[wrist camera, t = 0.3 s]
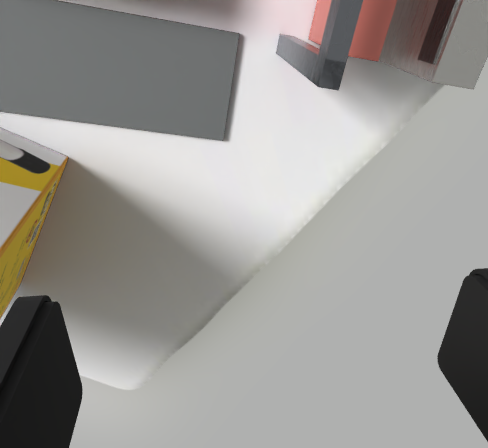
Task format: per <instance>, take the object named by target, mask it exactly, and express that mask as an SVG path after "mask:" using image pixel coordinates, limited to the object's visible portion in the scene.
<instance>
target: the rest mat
mask: <svg viewBox="0 0 488 448" xmlns="http://www.w3.org/2000/svg"><path fill="white" fill-rule="evenodd" d="M238 40H239V33H235V32H229V31H224V30H218V29H212V28H207V27H201V26H196V25H190V24H185V23H179V22H174V21H168V20H163V19H157V18H152V17H146V16H140V15H135V14H129V13H124V12H118V11H113V10H107V9H102V8H96V7H91V6H85V5H79V4H74V3H68V2H63V1H57V0H0V111H1V112H8V113H16V114H23V115H31V116H39V117H46V118H54V119H61V120H69V121H77V122H84V123H92V124H99V125H107V126H114V127H122V128H130V129H137V130H145V131H152V132H160V133H168V134H175V135H183V136H190V137H198V138H206V139H213V140H221V141H223V139H224V132H225V125H226V119H227V112H228V106H229V99H230V93H231V86H232V79H233V73H234V66H235V60H236V53H237V46H238Z"/></svg>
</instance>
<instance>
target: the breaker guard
mask: <svg viewBox="0 0 488 448" xmlns="http://www.w3.org/2000/svg"><path fill="white" fill-rule="evenodd" d="M362 3H363V0H331V5H330V9H329V13H328V17H327V21H326V25H325V29H324V33H323V38H322V42H321V46H320V49H318V48H316V47H314V46H312V45H310V44H308V43H306V42H304V41H302V40H300V39H298V38H296V37H294V36H288V35H283V34H280V36H279V41H278V46H277V51H276V53H277V54H278V55H279V56H280V57H282V58H283V59H284V60H285V61H287V62H288V63H289V64H290V65H292V66H293V67H294V68H295V69H297V70H298V71H299V72H300V73H302V74H303V75H304V76H305V77H307V78H308V79H309V80H310V81H312V82H313V83H314V84H315V85H317V86H318V87H321V88H327V89H333V90H339V87H340V83H341V79H342V76H343V72H344V68H345V65H346V61H347V58H348V54H349V50H350V47H351V43H352V39H353V36H354V32H355V29H356V25H357V21H358V18H359V14H360V10H361V7H362ZM487 57H488V0H397V3H396V6H395V9H394V12H393V16H392V19H391V22H390V25H389V28H388V32H387V35H386V38H385V41H384V44H383V48H382V51H381V54H380V57H379V61H381V62H383V63H385V64H388V65H390V66H393V67H395V68H398V69H400V70H403V71H405V72H408V73H410V74H413V75H415V76H418V77H420V78H423V79H425V80H428V81H430V82H434V83H439V84H445V85H451V86H457V87H462V88H468V89H474V87H475V84H476V82H477V80H478V78H479V75H480V73H481V70H482V68H483V66H484V63H485V61H486V59H487Z"/></svg>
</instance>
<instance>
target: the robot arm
mask: <svg viewBox="0 0 488 448" xmlns="http://www.w3.org/2000/svg"><path fill="white" fill-rule="evenodd" d="M438 364H439V367H440V369H441V371H442V372H443V374H444V376H445V377H446V379H447V380H448V382H449V383H450V385H451V386H452V388H453V390H454V391H455V393H456V394H457V395H458V397H459V399H460V400H461V402H462V403H463V405H464V406H465V408H466V409H467V411H468V412H469V414H470V415H471V417H472V419H473V420H474V422H475V423H476V424H477V426H478V428H479V429H480V431H481V432H482V434H483V435H484V437H485V438H486V440H487V441H488V268H485V269H475V270H473V271H472V272H471V273H470V275H469V276H467V277H465V279H464V281H463V283H462V286H461V289H460V292H459V295H458V298H457V301H456V304H455V307H454V309H453V312H452V315H451V318H450V321H449V324H448V327H447V330H446V333H445V336H444V339H443V341H442V344H441V347H440V350H439V353H438ZM81 400H82V383H81V380H80V376H79V372H78V369H77V365H76V362H75V358H74V354H73V351H72V347H71V343H70V340H69V336H68V333H67V329H66V325H65V322H64V318H63V314H62V311H61V307H60V304H59V303H58V302H51V299H50V298H49V296H46V295H45V296H28V297H19V298H17V299H16V300H15V302H14V303H13V305H12V307H11V309H10V311H9V312H8V314H7V316H6V318H5V319H4V321H3V323H2V325H1V326H0V448H69V445H70V442H71V438H72V434H73V430H74V427H75V423H76V419H77V416H78V412H79V408H80V404H81Z"/></svg>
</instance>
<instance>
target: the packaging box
mask: <svg viewBox="0 0 488 448" xmlns="http://www.w3.org/2000/svg"><path fill="white" fill-rule="evenodd" d="M67 160H68V156H65V155H63V154H61V153H58V152H56V151H54V150H51V149H49V148H47V147H44V146H42V145H40V144H37V143H35V142H33V141H30V140H28V139H26V138H23V137H21V136H19V135H16V134H14V133H12V132H9V131H7V130H5V129H2V128H0V319H1V317H2V315H3V314H4V312H5V310H6V308H7V307H8V305H9V303H10V301H11V300H12V298H13V296H14V294H15V293H16V291H17V289H18V288H19V286H20V283H21V281H22V278H23V275H24V273H25V270H26V268H27V265H28V262H29V260H30V257H31V255H32V252H33V249H34V247H35V244H36V241H37V239H38V236H39V234H40V231H41V228H42V226H43V223H44V220H45V218H46V215H47V213H48V210H49V207H50V205H51V202H52V199H53V197H54V194H55V192H56V189H57V186H58V184H59V181H60V179H61V176H62V173H63V171H64V168H65V165H66V163H67Z"/></svg>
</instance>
